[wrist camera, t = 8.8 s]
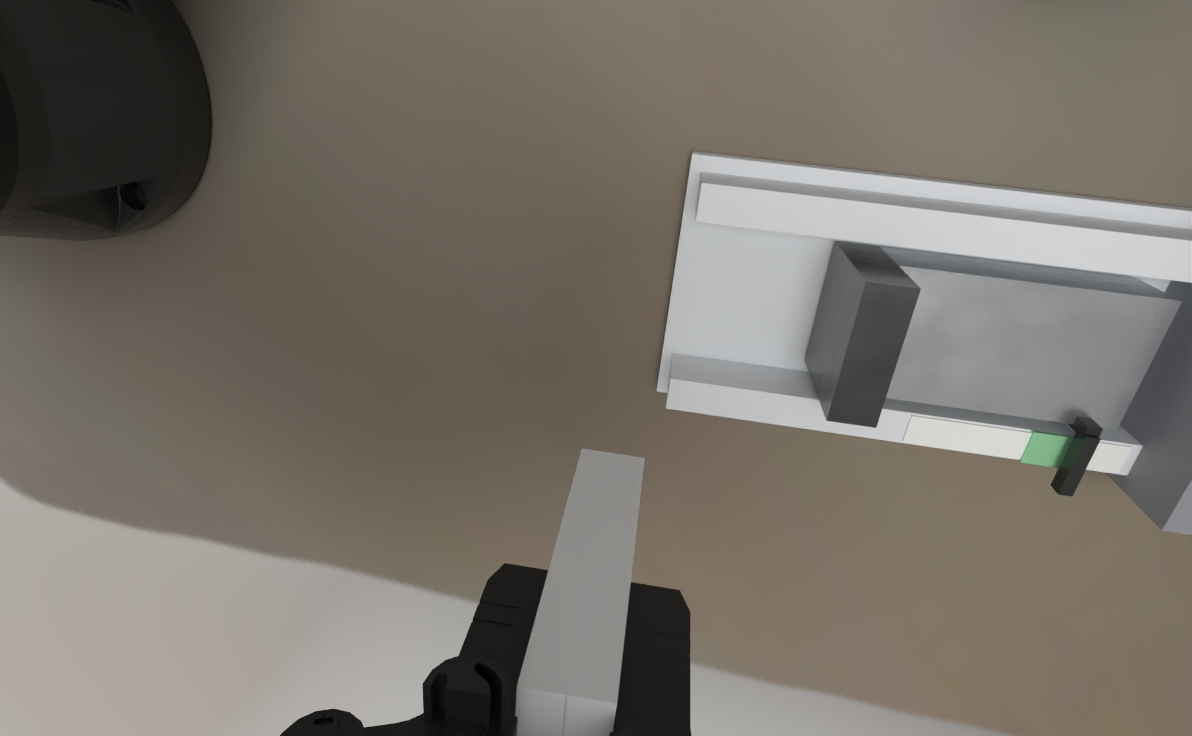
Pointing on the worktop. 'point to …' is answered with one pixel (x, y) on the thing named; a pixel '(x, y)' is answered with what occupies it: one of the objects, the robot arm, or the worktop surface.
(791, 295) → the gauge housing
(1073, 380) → the block with dark end
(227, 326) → the worktop surface
